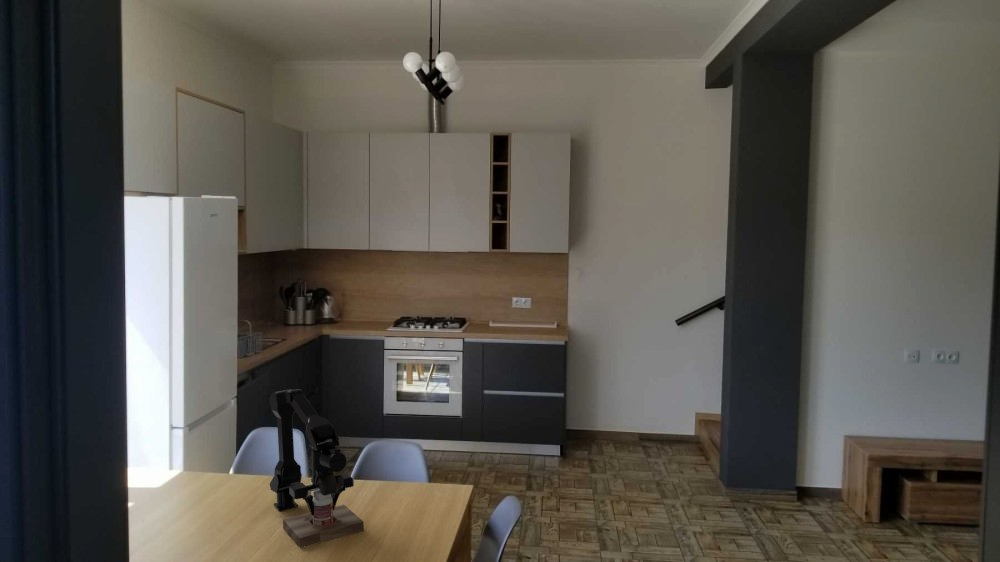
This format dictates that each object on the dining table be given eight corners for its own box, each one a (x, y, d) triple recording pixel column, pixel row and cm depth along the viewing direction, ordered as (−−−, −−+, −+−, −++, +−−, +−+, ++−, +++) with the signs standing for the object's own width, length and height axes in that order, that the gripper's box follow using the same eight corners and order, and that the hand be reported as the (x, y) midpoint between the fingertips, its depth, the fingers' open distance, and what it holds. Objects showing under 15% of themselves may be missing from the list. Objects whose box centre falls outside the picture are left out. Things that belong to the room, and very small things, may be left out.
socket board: (283, 528, 215) (282, 519, 215) (344, 513, 226) (344, 504, 226) (299, 548, 202) (299, 538, 201) (363, 530, 213) (363, 521, 213)
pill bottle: (336, 526, 213) (335, 490, 212) (316, 531, 209) (315, 495, 209) (329, 519, 218) (328, 484, 217) (310, 524, 215) (309, 488, 214)
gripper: (299, 477, 200) (301, 529, 202) (360, 465, 211) (361, 514, 212) (288, 466, 210) (289, 516, 211) (346, 455, 220) (347, 502, 221)
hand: (322, 512), depth 213 cm, fingers closed on pill bottle, 6 cm apart
